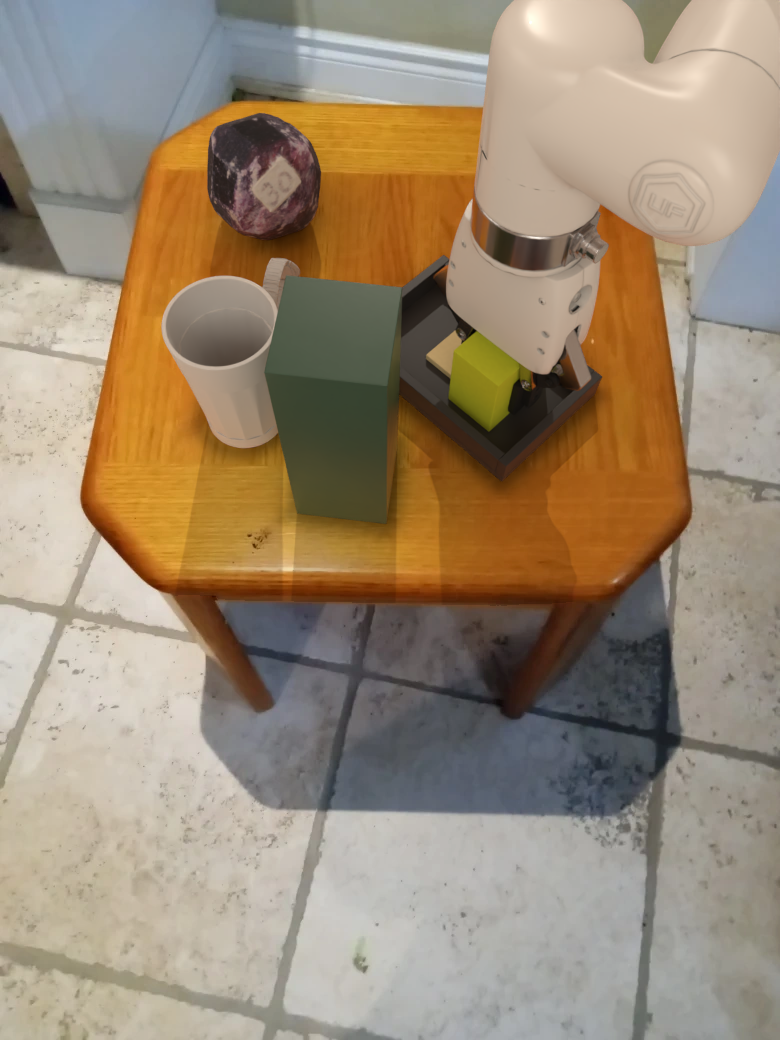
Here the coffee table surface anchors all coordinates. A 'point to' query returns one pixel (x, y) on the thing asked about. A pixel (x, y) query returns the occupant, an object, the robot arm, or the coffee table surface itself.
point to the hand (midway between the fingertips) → (498, 381)
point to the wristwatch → (278, 277)
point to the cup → (225, 354)
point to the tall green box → (337, 394)
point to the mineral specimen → (263, 176)
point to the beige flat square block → (444, 353)
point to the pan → (430, 387)
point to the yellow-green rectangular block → (482, 380)
